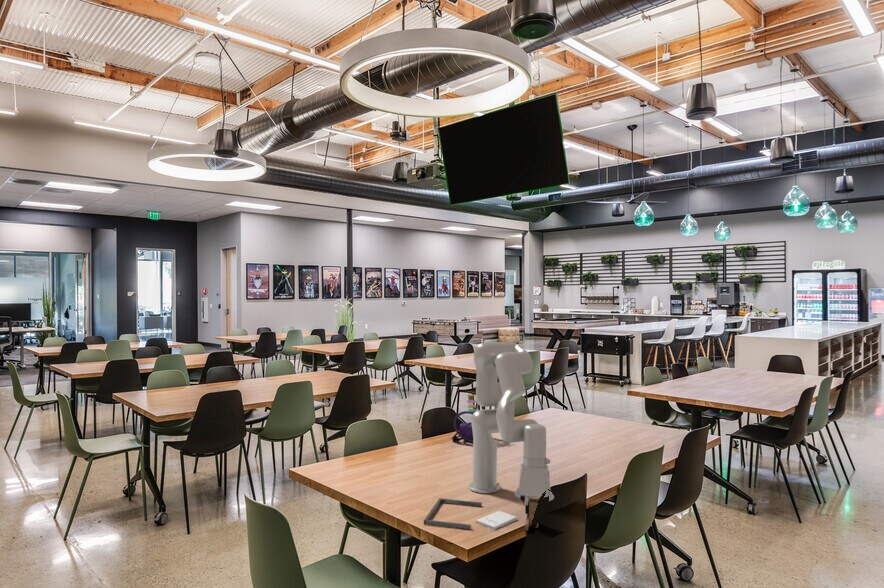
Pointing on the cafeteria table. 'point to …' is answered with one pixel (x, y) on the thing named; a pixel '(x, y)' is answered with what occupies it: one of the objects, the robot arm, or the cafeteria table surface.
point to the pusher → (531, 512)
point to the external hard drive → (496, 520)
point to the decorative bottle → (465, 428)
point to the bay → (449, 524)
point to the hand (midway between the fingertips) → (533, 516)
